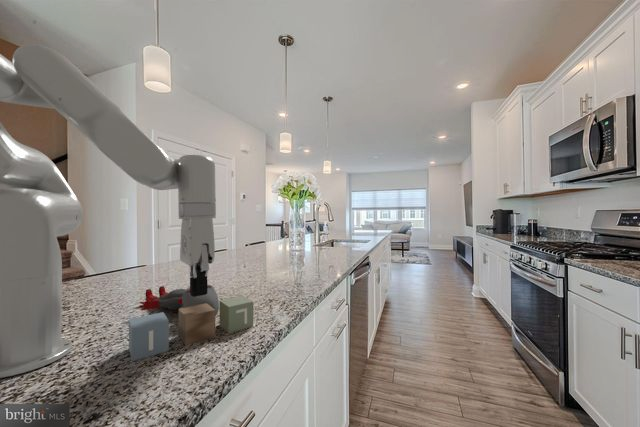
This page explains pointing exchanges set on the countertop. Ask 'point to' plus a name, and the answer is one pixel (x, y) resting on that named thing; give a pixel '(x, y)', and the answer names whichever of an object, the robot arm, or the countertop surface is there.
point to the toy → (180, 299)
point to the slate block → (148, 335)
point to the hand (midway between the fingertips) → (198, 294)
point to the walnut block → (196, 323)
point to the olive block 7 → (236, 314)
